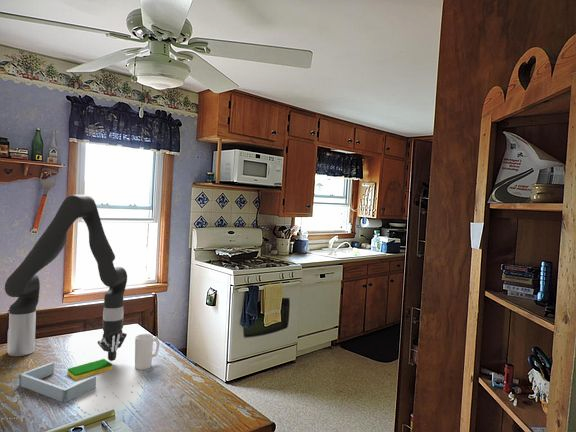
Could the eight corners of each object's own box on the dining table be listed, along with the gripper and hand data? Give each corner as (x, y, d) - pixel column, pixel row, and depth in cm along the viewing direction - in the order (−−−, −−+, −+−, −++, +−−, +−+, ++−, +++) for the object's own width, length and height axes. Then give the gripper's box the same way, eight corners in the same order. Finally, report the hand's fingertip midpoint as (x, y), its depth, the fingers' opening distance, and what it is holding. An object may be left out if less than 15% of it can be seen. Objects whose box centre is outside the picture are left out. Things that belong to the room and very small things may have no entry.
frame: (19, 385, 138) (19, 374, 138) (51, 372, 149) (52, 362, 149) (64, 402, 129) (64, 390, 128) (95, 387, 140) (96, 376, 139)
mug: (139, 371, 154) (140, 341, 153) (131, 366, 158) (132, 336, 158) (162, 364, 161) (164, 335, 161) (154, 359, 166) (155, 331, 165)
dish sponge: (112, 370, 155) (112, 363, 155) (75, 381, 144) (75, 374, 144) (103, 364, 160) (103, 358, 159) (67, 374, 149) (67, 368, 149)
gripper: (119, 312, 167) (118, 352, 167) (92, 320, 154) (91, 363, 155) (132, 315, 163) (131, 356, 164) (106, 323, 151) (105, 368, 152)
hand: (111, 360), depth 160 cm, fingers closed
